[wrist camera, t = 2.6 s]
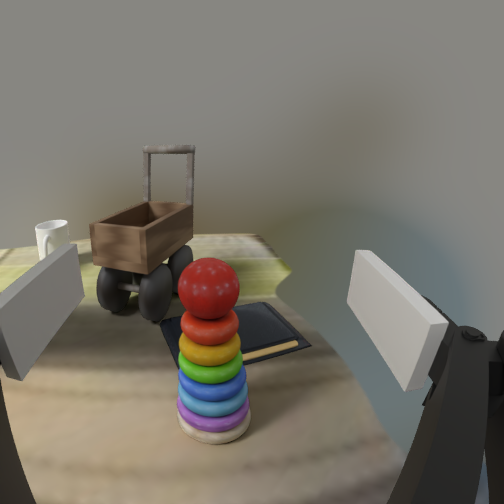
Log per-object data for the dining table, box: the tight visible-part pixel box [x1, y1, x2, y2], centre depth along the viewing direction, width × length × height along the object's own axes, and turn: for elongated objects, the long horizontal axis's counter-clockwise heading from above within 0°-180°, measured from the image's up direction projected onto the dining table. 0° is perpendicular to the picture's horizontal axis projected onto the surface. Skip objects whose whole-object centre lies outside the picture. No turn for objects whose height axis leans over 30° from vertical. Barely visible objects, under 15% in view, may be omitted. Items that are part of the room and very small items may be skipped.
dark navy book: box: [160, 302, 312, 369], centre depth 47 cm, size 20×2×15 cm
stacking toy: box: [177, 258, 251, 444], centre depth 28 cm, size 8×8×19 cm
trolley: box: [89, 145, 195, 321], centre depth 51 cm, size 10×19×27 cm, turn 169°
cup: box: [35, 220, 70, 261], centre depth 62 cm, size 8×12×10 cm
